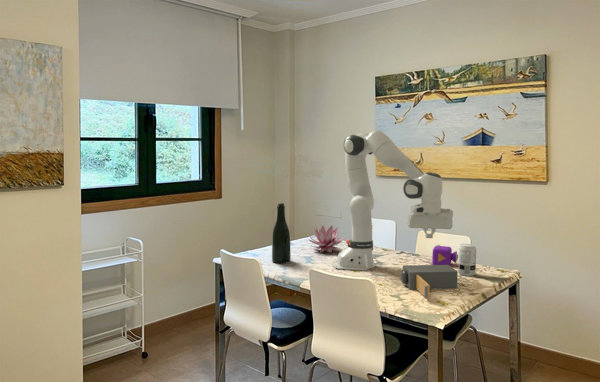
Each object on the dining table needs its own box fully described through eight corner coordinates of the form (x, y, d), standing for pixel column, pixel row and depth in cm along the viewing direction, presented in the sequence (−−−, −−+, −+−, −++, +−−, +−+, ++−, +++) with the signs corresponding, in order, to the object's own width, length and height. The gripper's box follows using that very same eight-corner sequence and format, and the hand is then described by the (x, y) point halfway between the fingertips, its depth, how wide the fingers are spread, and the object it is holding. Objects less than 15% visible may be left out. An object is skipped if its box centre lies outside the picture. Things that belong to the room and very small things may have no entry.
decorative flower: (301, 251, 299) (301, 226, 297) (325, 245, 313) (325, 222, 312) (326, 257, 283) (326, 231, 281) (350, 251, 297) (351, 227, 296)
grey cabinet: (406, 289, 221) (406, 272, 221) (399, 282, 233) (399, 265, 232) (457, 288, 223) (457, 271, 222) (447, 281, 235) (448, 264, 234)
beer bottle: (282, 264, 266) (282, 204, 263) (268, 261, 272) (267, 203, 269) (294, 260, 274) (294, 202, 271) (280, 258, 281) (279, 201, 277)
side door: (413, 287, 221) (414, 274, 220) (417, 287, 221) (417, 274, 220) (425, 299, 205) (425, 285, 204) (429, 299, 205) (429, 285, 204)
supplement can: (455, 272, 250) (456, 243, 249) (471, 272, 251) (472, 243, 249) (462, 276, 242) (463, 247, 241) (478, 276, 243) (479, 246, 241)
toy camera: (459, 267, 260) (459, 249, 259) (432, 266, 262) (433, 248, 261) (456, 262, 270) (457, 245, 269) (431, 261, 273) (431, 244, 272)
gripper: (451, 207, 226) (449, 237, 228) (407, 206, 226) (405, 235, 227) (455, 210, 220) (453, 240, 222) (410, 208, 219) (408, 238, 221)
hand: (428, 237), depth 224 cm, fingers closed
